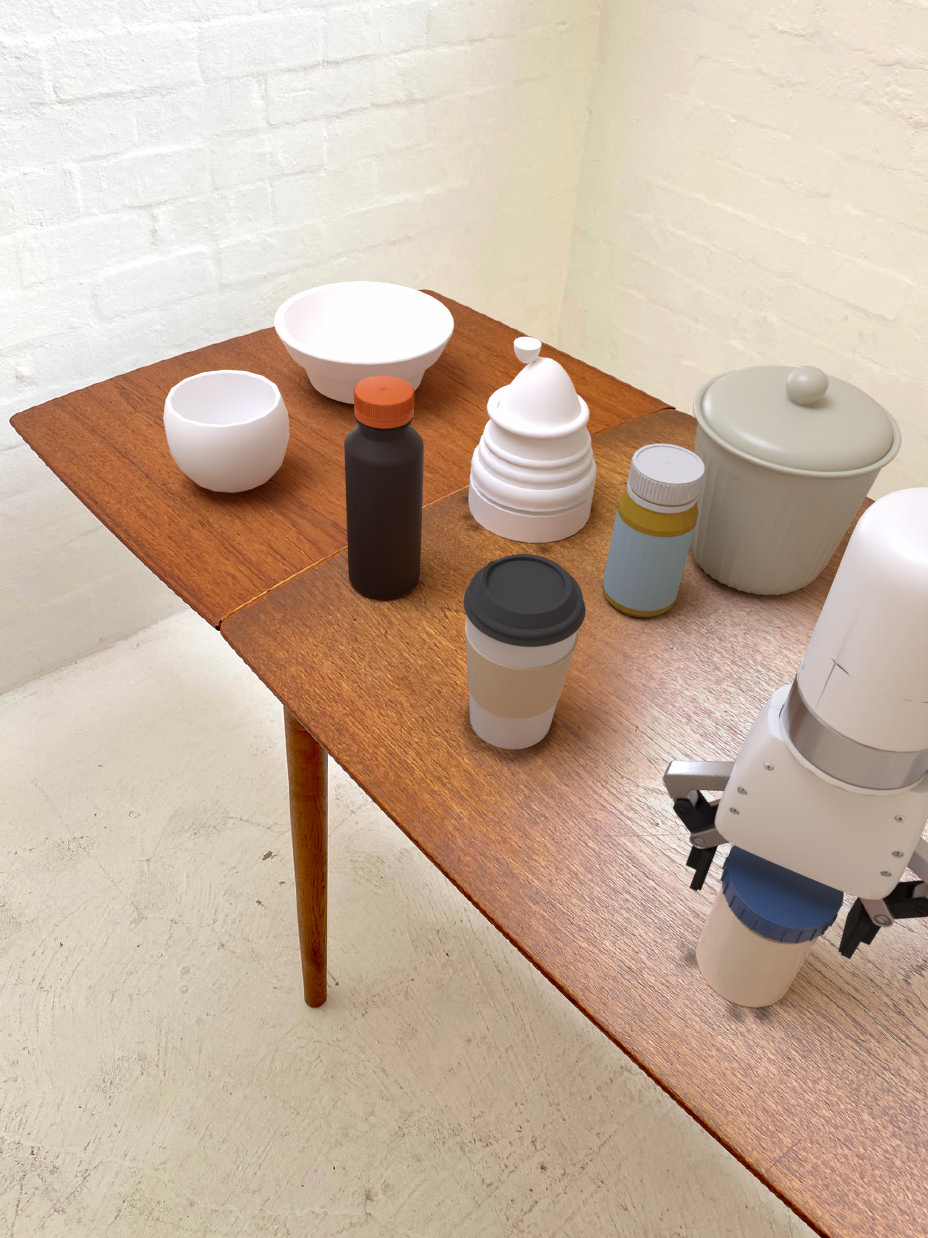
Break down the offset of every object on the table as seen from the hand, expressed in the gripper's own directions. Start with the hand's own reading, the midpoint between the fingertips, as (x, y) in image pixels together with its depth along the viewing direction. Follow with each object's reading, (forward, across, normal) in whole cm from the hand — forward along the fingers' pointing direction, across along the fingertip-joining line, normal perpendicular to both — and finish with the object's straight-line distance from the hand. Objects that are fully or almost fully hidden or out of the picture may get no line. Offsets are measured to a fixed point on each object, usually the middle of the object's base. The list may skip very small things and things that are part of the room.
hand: (772, 904), depth 61 cm
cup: (+7, +63, -28) cm, 69 cm away
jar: (+7, 0, 0) cm, 7 cm away
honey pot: (+7, +34, -40) cm, 53 cm away
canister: (+7, +11, -43) cm, 45 cm away
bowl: (+7, +62, -53) cm, 82 cm away
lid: (-3, 0, 0) cm, 3 cm away
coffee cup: (+7, +23, -12) cm, 27 cm away
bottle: (+7, +19, -32) cm, 38 cm away
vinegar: (+7, +41, -22) cm, 47 cm away
